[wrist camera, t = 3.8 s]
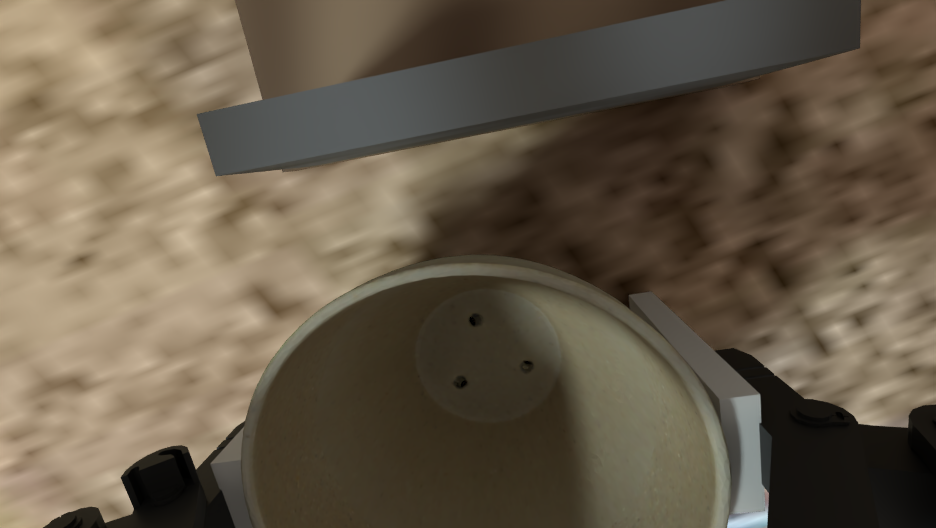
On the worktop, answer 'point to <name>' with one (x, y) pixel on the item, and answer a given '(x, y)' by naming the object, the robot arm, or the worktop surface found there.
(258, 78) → the cradle
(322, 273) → the worktop surface
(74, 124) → the worktop surface
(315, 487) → the flower pot
